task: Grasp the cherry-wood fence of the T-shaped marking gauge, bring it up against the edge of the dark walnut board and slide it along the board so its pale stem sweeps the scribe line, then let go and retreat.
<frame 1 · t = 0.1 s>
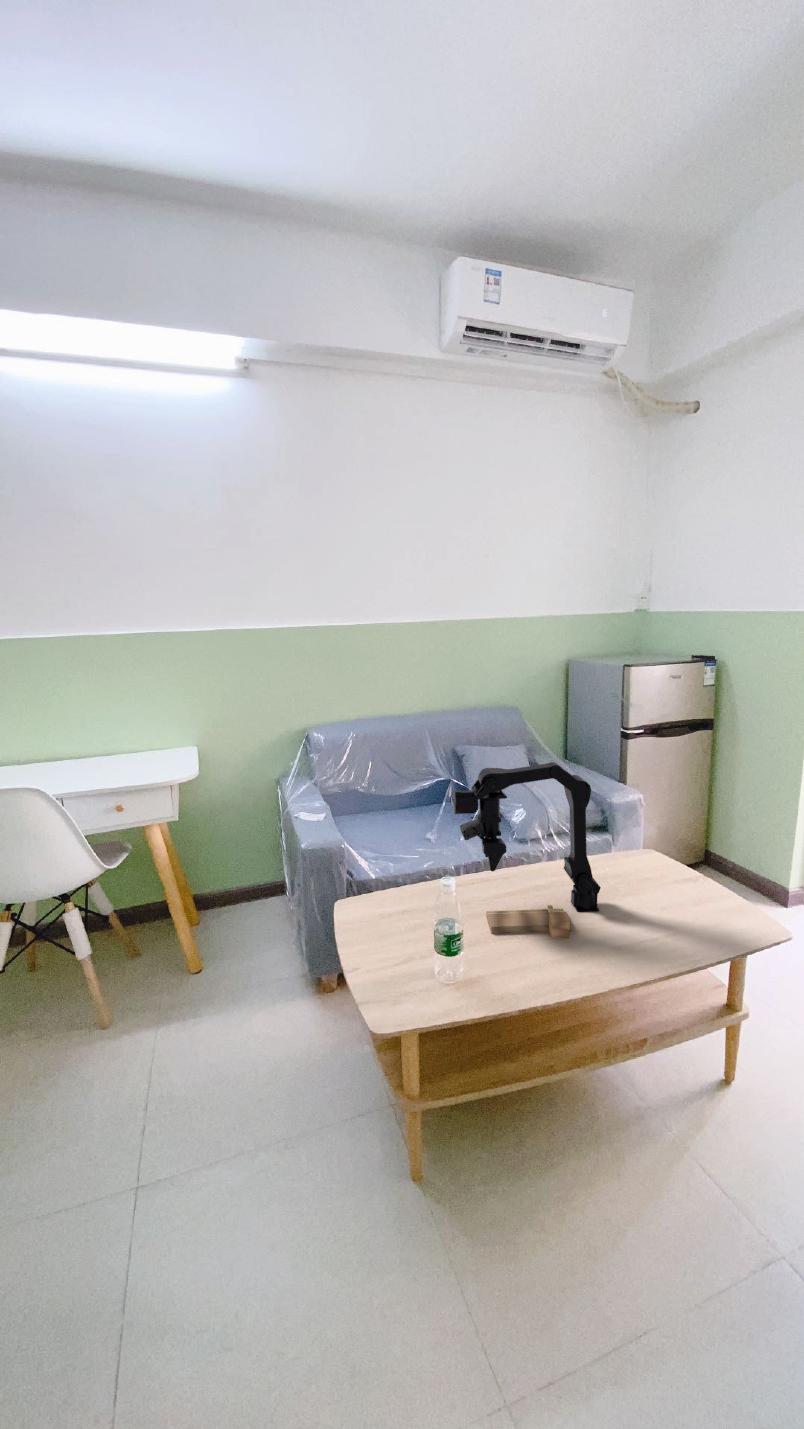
hand: (489, 863, 157), 14 cm above the table, fingers open, 9 cm apart
gauge: (559, 935, 146), on the table
board: (527, 924, 152), on the table
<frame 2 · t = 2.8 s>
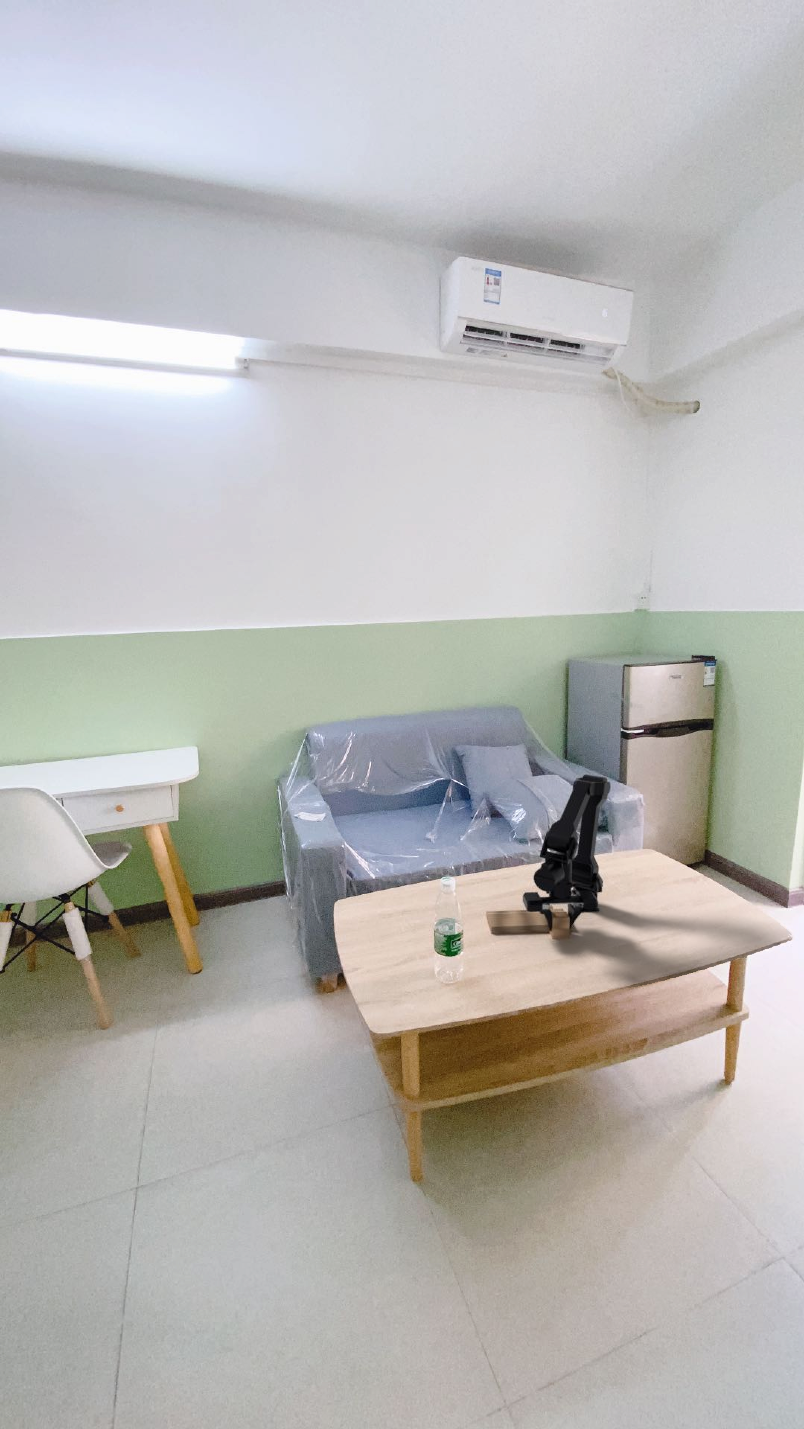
hand: (559, 929, 146), 2 cm above the table, fingers closed on gauge, 4 cm apart
gauge: (559, 935, 146), on the table, touching gripper
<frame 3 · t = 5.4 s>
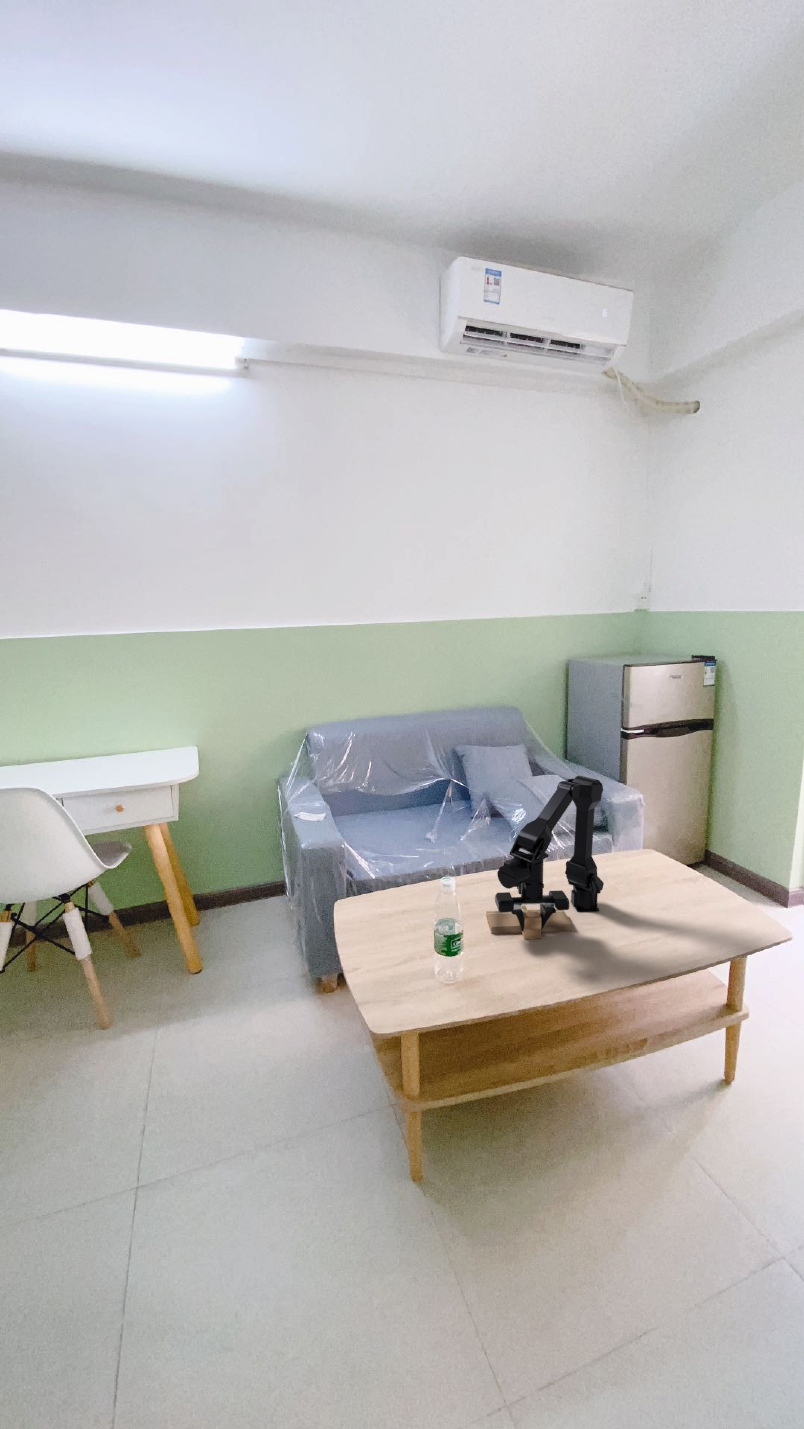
hand: (531, 930, 146), 2 cm above the table, fingers closed on gauge, 4 cm apart
gauge: (531, 935, 146), on the table, touching gripper
when the fingers open (2 cm above the table, at t = 8.0 s): gauge stays where it is, on the table.
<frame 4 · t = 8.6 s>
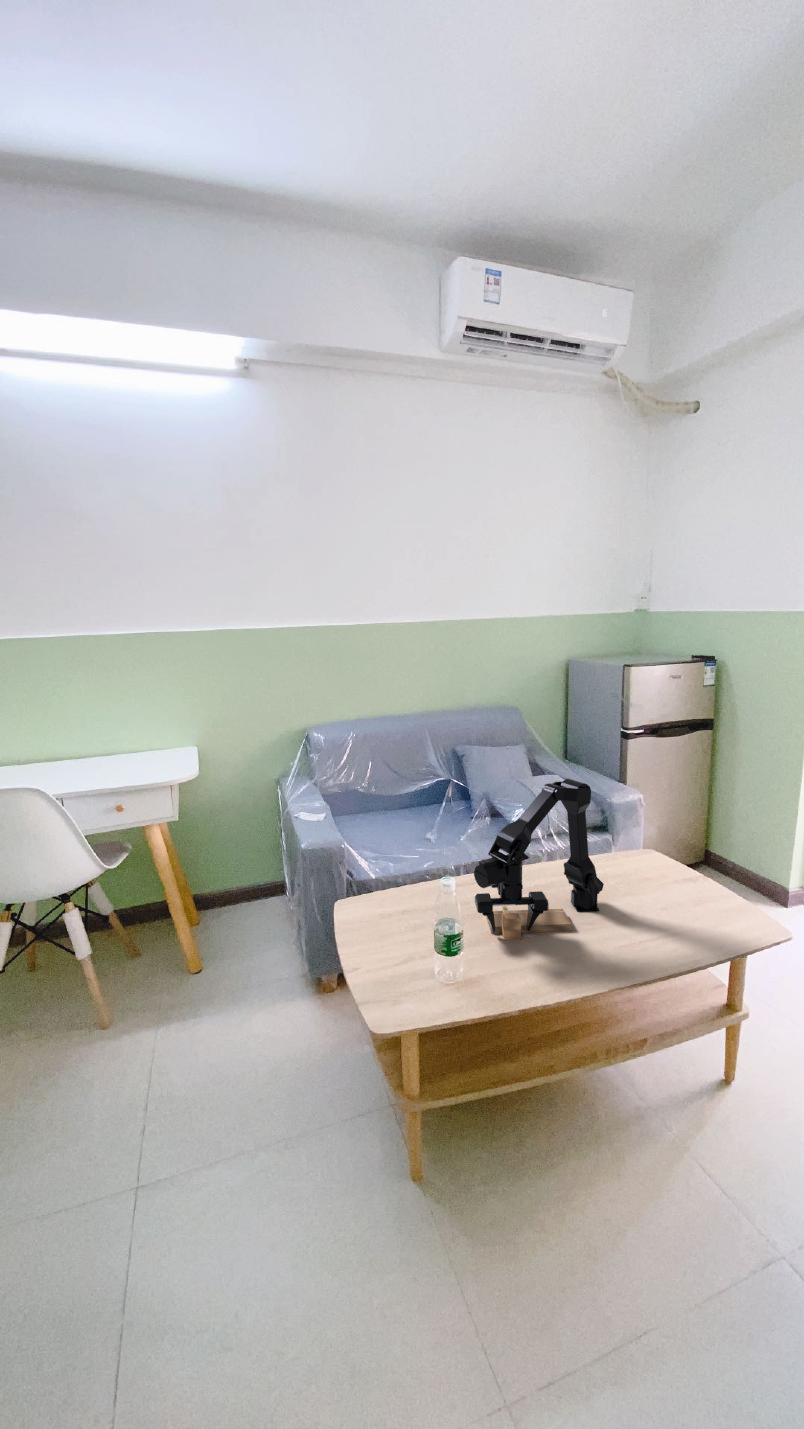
hand: (511, 931, 146), 2 cm above the table, fingers open, 9 cm apart
gauge: (511, 936, 146), on the table
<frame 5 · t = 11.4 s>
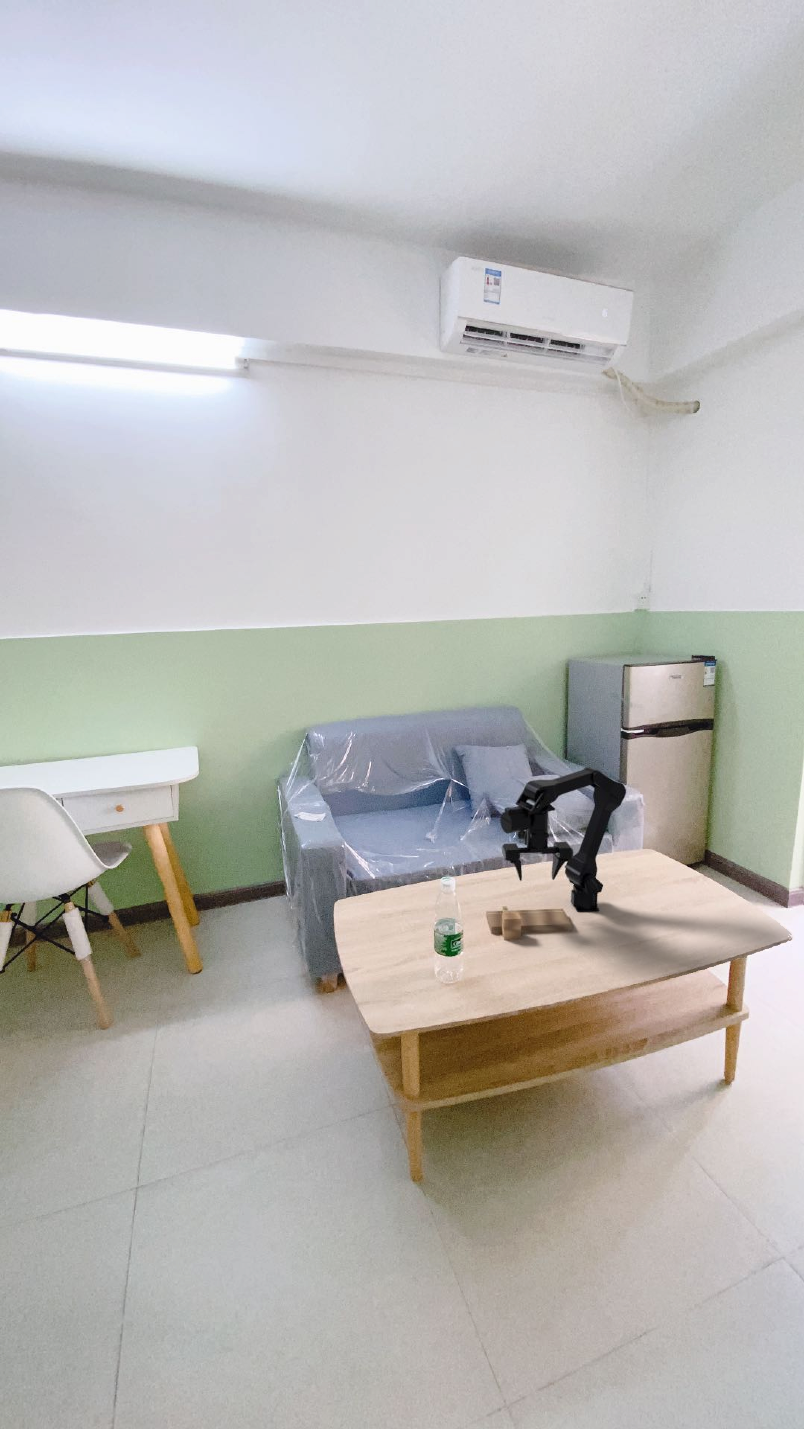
hand: (536, 879, 152), 12 cm above the table, fingers open, 9 cm apart
nothing on the table moved.
at the end: gauge 0.6 cm from the target spot, on the table; gauge tilted 0°; gauge moved 12.9 cm from its start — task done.
